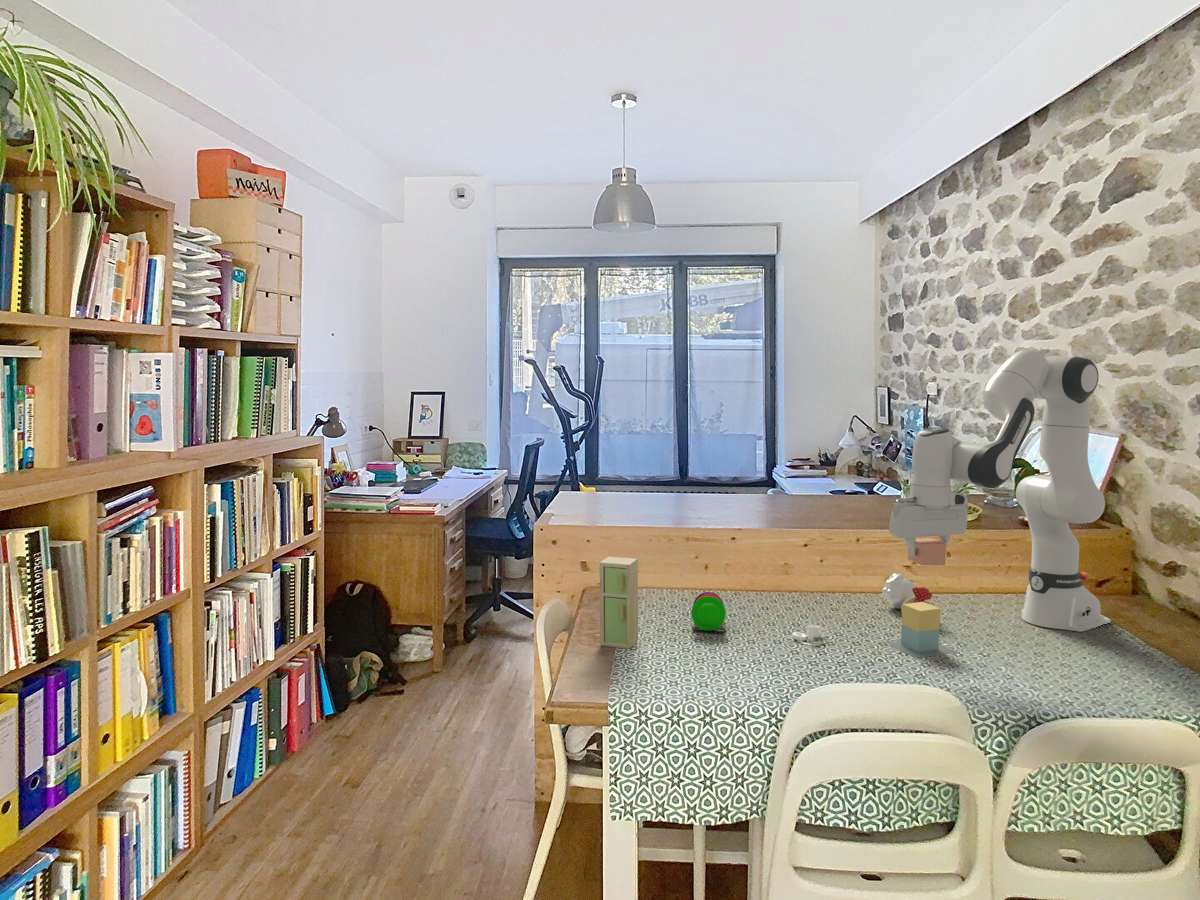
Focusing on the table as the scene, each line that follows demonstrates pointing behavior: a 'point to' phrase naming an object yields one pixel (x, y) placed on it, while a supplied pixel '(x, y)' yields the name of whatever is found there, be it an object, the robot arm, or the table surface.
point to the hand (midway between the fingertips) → (926, 554)
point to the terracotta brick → (929, 552)
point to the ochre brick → (921, 616)
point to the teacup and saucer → (809, 635)
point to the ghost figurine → (898, 590)
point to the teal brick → (920, 639)
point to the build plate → (915, 654)
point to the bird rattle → (919, 596)
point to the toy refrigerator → (618, 602)
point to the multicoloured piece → (708, 612)
